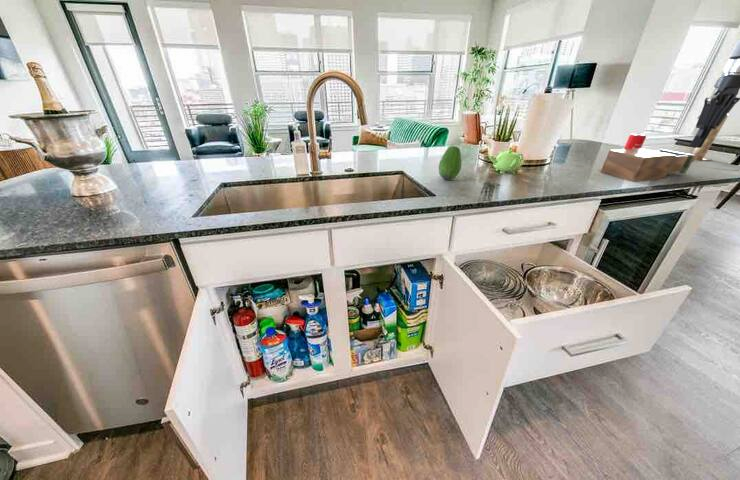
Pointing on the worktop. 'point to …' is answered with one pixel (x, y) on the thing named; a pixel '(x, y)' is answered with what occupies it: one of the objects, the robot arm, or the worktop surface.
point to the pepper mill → (708, 142)
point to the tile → (703, 159)
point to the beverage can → (635, 141)
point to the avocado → (450, 163)
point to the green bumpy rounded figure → (507, 161)
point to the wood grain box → (637, 164)
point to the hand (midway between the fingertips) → (695, 146)
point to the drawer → (679, 161)
